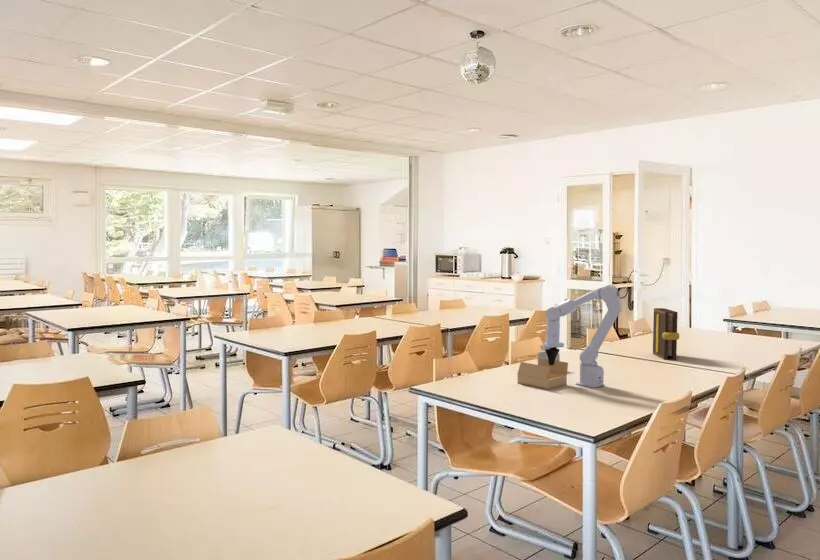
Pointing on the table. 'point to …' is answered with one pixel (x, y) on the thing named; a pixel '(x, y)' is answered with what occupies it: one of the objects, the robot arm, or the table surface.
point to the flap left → (533, 370)
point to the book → (665, 333)
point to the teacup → (544, 356)
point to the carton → (544, 381)
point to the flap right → (555, 366)
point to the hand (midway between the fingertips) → (551, 364)
